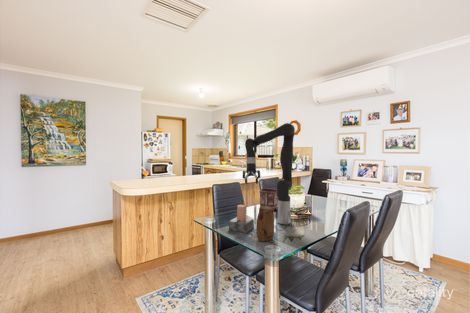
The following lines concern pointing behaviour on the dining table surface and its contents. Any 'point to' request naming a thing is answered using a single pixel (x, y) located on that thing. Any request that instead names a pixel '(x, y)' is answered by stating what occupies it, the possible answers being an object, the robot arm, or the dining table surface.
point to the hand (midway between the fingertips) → (251, 183)
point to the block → (265, 223)
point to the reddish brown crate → (269, 198)
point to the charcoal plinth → (241, 225)
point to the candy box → (308, 202)
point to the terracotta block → (241, 212)
